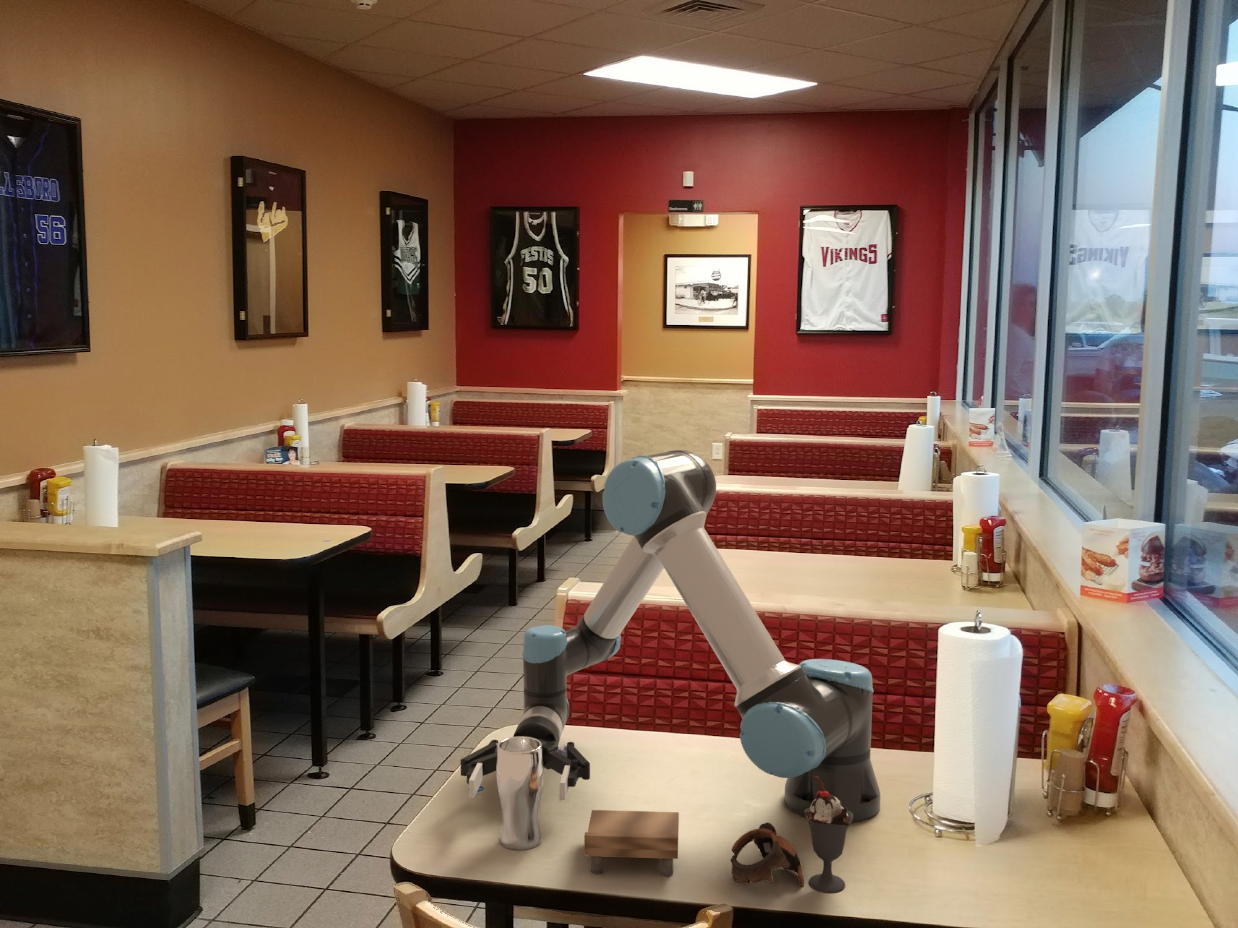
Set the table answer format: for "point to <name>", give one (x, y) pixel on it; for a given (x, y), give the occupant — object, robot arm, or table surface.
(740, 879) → the broken clay pot
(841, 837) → the sundae
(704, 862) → the table surface
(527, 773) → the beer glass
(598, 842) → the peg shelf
